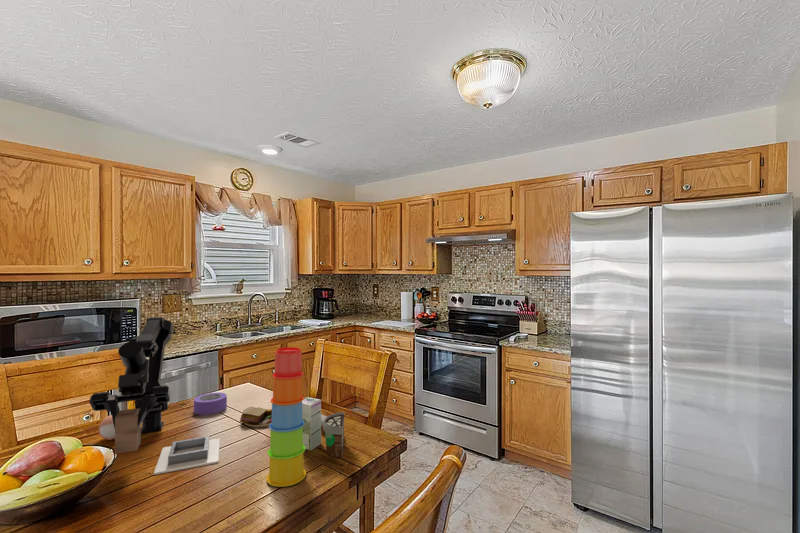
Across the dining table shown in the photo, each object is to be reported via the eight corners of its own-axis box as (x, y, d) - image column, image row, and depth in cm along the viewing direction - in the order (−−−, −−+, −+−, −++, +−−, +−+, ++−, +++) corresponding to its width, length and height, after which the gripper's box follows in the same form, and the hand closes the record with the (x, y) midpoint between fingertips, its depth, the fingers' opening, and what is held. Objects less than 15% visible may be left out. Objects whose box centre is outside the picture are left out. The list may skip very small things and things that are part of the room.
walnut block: (119, 445, 108) (119, 410, 108) (140, 442, 110) (140, 408, 110) (114, 453, 103) (114, 417, 103) (136, 450, 106) (136, 414, 105)
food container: (325, 443, 123) (325, 412, 123) (344, 442, 124) (344, 411, 124) (320, 462, 111) (320, 428, 111) (341, 461, 111) (341, 427, 111)
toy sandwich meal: (269, 430, 133) (269, 417, 133) (234, 427, 135) (234, 414, 135) (286, 416, 145) (286, 404, 145) (253, 414, 147) (253, 402, 147)
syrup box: (321, 443, 123) (322, 398, 123) (310, 451, 117) (310, 404, 117) (307, 440, 125) (307, 396, 125) (295, 447, 120) (295, 401, 120)
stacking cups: (258, 478, 102) (259, 350, 102) (291, 463, 110) (291, 344, 110) (280, 493, 96) (280, 356, 96) (313, 476, 104) (314, 349, 104)
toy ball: (94, 445, 121) (94, 420, 121) (103, 435, 128) (103, 412, 128) (124, 441, 124) (124, 417, 124) (131, 431, 131) (131, 408, 131)
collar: (172, 449, 117) (172, 441, 117) (209, 443, 121) (209, 435, 121) (168, 465, 108) (168, 456, 108) (207, 458, 112) (207, 449, 112)
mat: (163, 449, 119) (163, 447, 119) (219, 439, 125) (219, 438, 125) (153, 474, 104) (153, 473, 104) (218, 462, 111) (218, 461, 111)
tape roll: (198, 405, 156) (198, 393, 156) (229, 403, 159) (229, 391, 159) (190, 416, 145) (190, 403, 145) (223, 413, 148) (223, 400, 148)
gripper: (91, 364, 106) (77, 418, 96) (169, 358, 114) (163, 407, 104) (100, 384, 114) (87, 437, 104) (172, 377, 121) (167, 425, 111)
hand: (127, 426), depth 105 cm, fingers closed on walnut block, 5 cm apart
